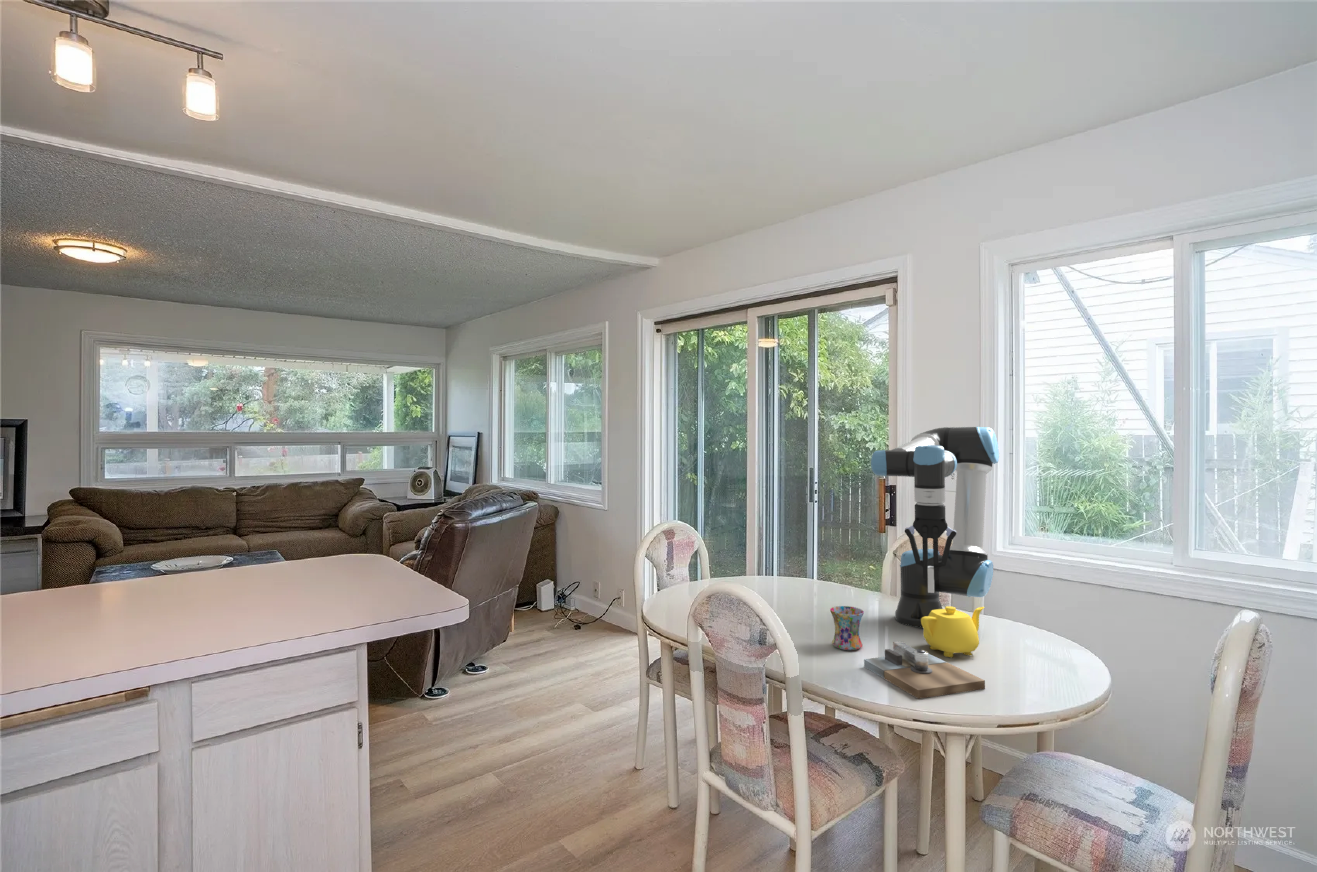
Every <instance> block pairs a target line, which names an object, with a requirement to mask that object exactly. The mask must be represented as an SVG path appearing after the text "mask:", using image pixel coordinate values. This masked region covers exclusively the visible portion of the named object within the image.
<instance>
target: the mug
mask: <svg viewBox="0 0 1317 872" xmlns="http://www.w3.org/2000/svg"><path fill="white" fill-rule="evenodd" d="M829 611H830V613H831V616H832V620H833V623H834V635H833V639H832V641H831V645H832V646H833V647H835V648H837V649H839V650H843V651H857V650H860V649H862V648H863V643H862V640H861V636H860V626H861V621H862V618H863V616H864V613H865V610H863V609H861V608H859V607H856V606H848V605H839V606H838V605H837V606H832V607H831V608H829Z"/></svg>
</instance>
